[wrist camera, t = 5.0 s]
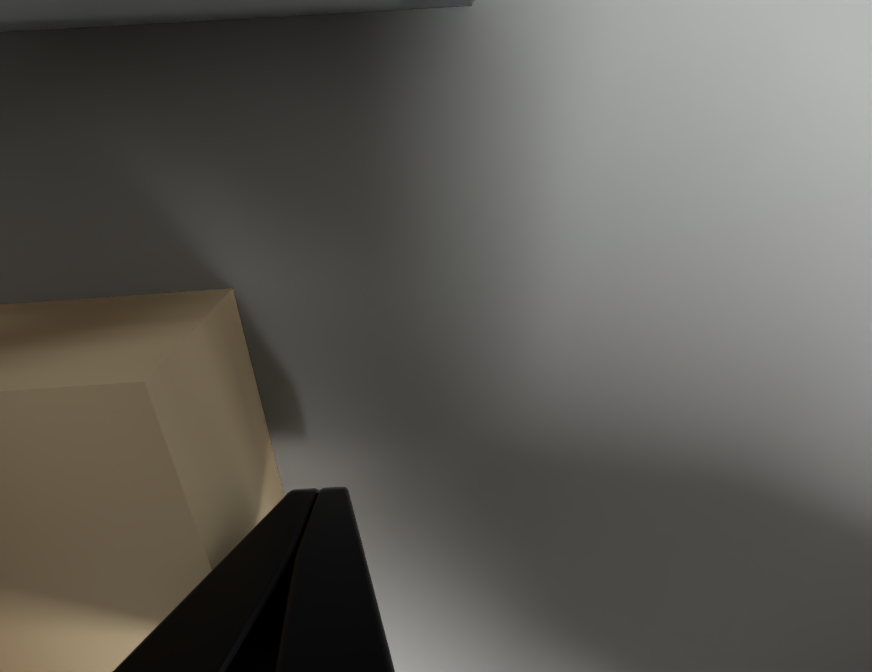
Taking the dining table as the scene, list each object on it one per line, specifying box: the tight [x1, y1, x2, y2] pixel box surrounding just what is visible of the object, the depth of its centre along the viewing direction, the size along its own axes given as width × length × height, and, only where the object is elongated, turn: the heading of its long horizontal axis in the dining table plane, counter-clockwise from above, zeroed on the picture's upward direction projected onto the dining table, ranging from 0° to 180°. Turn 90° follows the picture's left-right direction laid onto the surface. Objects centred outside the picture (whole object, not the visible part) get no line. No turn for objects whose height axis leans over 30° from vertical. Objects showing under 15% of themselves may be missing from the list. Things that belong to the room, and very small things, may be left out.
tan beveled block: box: [0, 288, 285, 672], centre depth 8 cm, size 7×7×3 cm
